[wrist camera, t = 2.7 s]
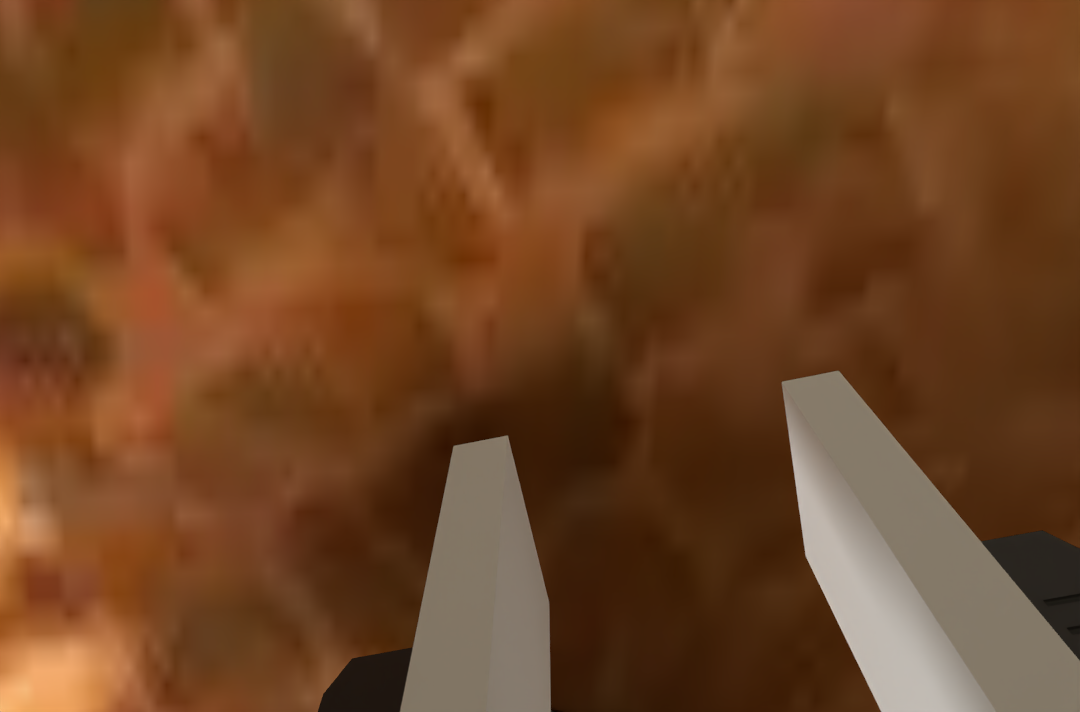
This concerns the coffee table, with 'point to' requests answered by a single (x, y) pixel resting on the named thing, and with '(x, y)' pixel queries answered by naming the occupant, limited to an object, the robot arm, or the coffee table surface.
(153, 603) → the coffee table surface
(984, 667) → the robot arm
